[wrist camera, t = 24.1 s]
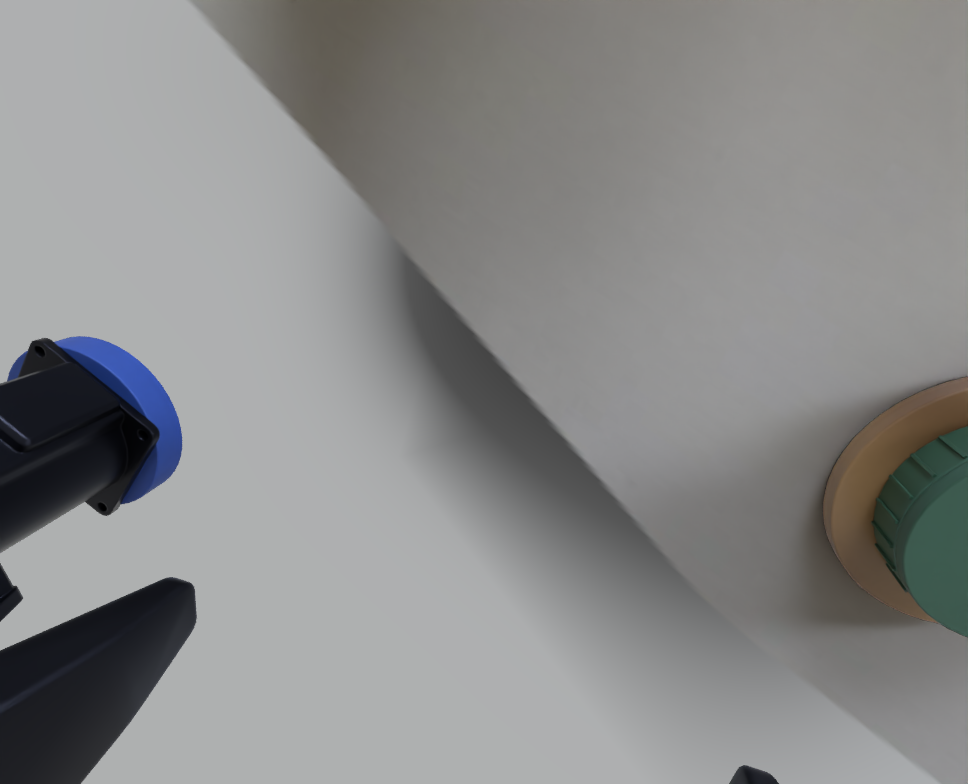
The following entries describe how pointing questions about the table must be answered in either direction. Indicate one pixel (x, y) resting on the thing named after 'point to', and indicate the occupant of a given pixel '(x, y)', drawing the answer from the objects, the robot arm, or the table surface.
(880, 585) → the coaster
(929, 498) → the jar lid
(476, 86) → the table surface
